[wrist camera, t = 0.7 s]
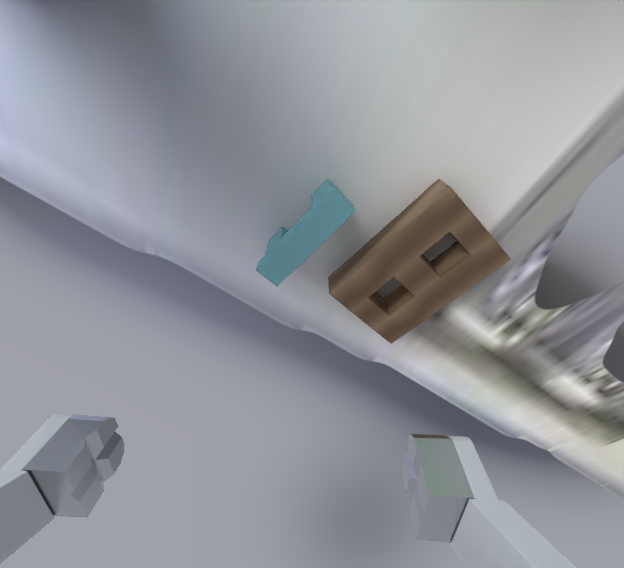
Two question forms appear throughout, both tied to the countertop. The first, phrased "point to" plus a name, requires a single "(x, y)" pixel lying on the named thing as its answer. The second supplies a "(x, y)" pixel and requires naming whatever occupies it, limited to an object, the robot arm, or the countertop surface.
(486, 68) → the countertop surface
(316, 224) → the teal long block
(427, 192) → the wooden board with holes
